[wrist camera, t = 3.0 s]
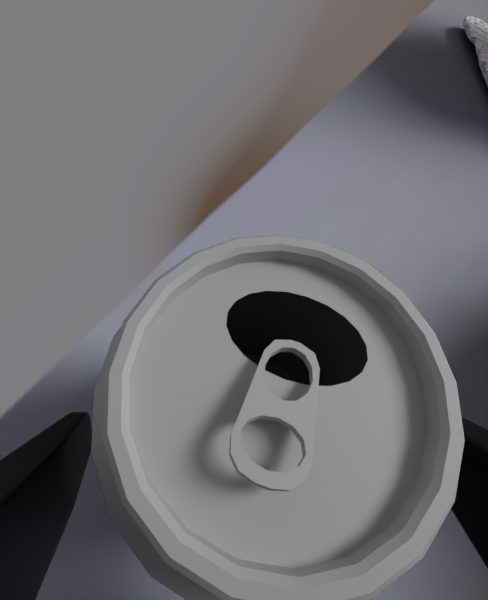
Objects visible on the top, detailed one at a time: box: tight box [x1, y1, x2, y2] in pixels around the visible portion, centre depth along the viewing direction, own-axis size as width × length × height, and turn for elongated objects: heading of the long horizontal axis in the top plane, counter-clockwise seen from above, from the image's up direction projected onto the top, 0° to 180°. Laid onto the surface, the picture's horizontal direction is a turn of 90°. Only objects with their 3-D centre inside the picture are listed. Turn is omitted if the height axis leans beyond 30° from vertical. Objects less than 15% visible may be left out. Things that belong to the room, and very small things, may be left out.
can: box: [91, 235, 465, 600], centre depth 11 cm, size 8×8×12 cm
